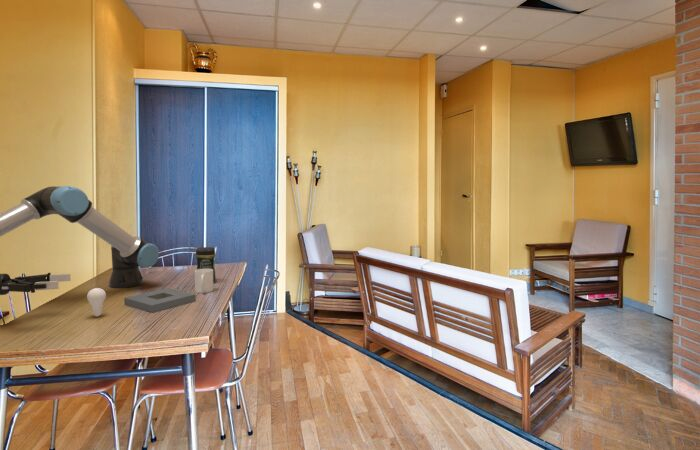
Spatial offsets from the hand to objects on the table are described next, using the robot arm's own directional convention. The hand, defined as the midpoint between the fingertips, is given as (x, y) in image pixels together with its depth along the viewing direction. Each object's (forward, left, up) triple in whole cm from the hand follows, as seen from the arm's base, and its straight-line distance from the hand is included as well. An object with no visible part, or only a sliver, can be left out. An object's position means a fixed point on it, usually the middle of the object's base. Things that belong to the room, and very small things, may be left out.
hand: (64, 281), depth 150 cm
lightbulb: (+6, +8, -15) cm, 18 cm away
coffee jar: (-6, +67, -15) cm, 69 cm away
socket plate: (+9, +32, -15) cm, 36 cm away
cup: (+9, +54, -15) cm, 57 cm away
